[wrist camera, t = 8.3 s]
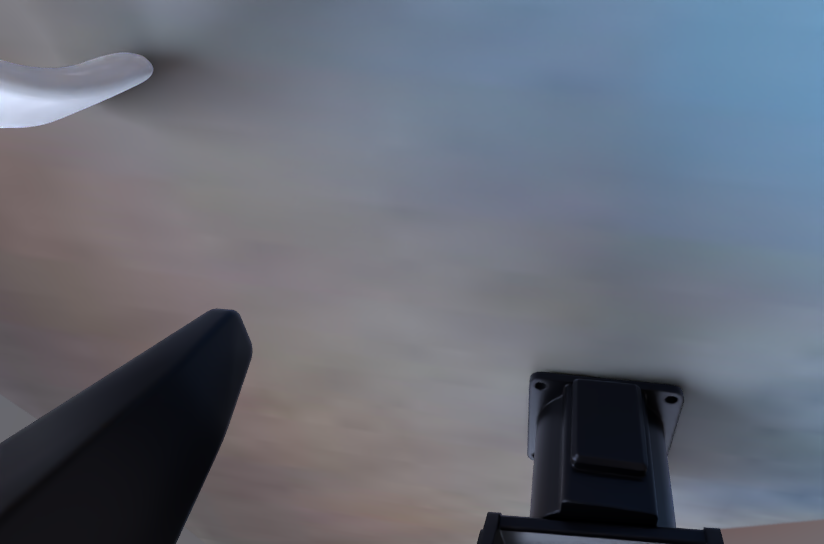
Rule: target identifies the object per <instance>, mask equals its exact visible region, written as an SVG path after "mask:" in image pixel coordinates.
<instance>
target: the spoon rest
mask: <svg viewBox="0 0 824 544" xmlns="http://www.w3.org/2000/svg"><path fill="white" fill-rule="evenodd" d="M153 70H154V69H153V66H152V64H151V62H150V61H148V60H147V59H146V58H145V57H144V56H142V55H138V54H134V53H127V52H121V53H113V54H109V55H106V56H102V57H98V58H95V59H92V60H89V61H86V62H83V63H80V64H76V65H72V66H66V67H60V68H40V67H30V66H25V65H20V64H15V63H11V62H8V61H5V60H2V59H0V128H23V127H34V126H39V125H43V124H47V123H50V122H53V121H56V120H59V119H61V118H64V117H66V116H69V115H71V114H73V113H76V112H78V111H80V110H83V109H85V108H88V107H90V106H92V105H95V104H97V103H100V102H102V101H104V100H106V99H109V98H111V97H113V96H115V95H117V94H120V93H122V92H124V91H126V90H128V89H130V88H132V87H134V86H136V85H138V84H141V83H142V82H144V81H146V80H147V79H148V78H149V77H150V76H151V75H152V73H153Z"/></svg>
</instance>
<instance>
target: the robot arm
mask: <svg viewBox="0 0 824 544" xmlns="http://www.w3.org/2000/svg"><path fill="white" fill-rule="evenodd" d="M251 358H252V344H251V341H250V338H249V336H248V333H247V331H246V328H245V326H244V324H243V321H242V319H241V316H240V315H239V313H237V312H236V311H234V310H228V309H212V310H209V311H208V312H206V313H204V314H203V315H201V316H200V317H198V318H197V319H195V320H193V321H192V322H190V323H189V324H187V325H186V326H184V327H182V328H181V329H179V330H178V331H176V332H175V333H173V334H171V335H170V336H168V337H167V338H165V339H164V340H162V341H160V342H159V343H157V344H156V345H154V346H153V347H151V348H149V349H148V350H146V351H145V352H143V353H142V354H140V355H138V356H137V357H135V358H134V359H132V360H131V361H129V362H127V363H126V364H124V365H123V366H121V367H120V368H118V369H116V370H115V371H113V372H112V373H110V374H109V375H107V376H105V377H104V378H102V379H101V380H99V381H98V382H96V383H94V384H93V385H91V386H90V387H88V388H87V389H85V390H83V391H82V392H80V393H79V394H77V395H76V396H74V397H72V398H71V399H69V400H68V401H66V402H64V403H63V404H61V405H60V406H58V407H57V408H55V409H53V410H52V411H50V412H49V413H47V414H46V415H44V416H42V417H41V418H39V419H38V420H36V421H35V422H33V423H32V424H30V425H28V426H27V427H25V428H24V429H22V430H20V431H19V432H17V433H16V434H14V435H13V436H11V437H9V438H8V439H6V440H5V441H3V442H2V443H1V444H0V544H176V542H177V540H178V538H179V536H180V534H181V531H182V529H183V527H184V525H185V523H186V521H187V518H188V516H189V514H190V512H191V510H192V508H193V505H194V503H195V501H196V499H197V497H198V494H199V492H200V490H201V488H202V486H203V484H204V481H205V479H206V477H207V475H208V473H209V471H210V468H211V466H212V464H213V462H214V460H215V458H216V455H217V453H218V451H219V449H220V446H221V444H222V442H223V439H224V437H225V434H226V431H227V429H228V426H229V423H230V420H231V417H232V414H233V411H234V408H235V405H236V403H237V400H238V397H239V394H240V391H241V388H242V385H243V382H244V379H245V376H246V373H247V370H248V367H249V364H250V361H251ZM539 382H542V383H539ZM683 403H684V396H683V391H682V389H681V388H679V387H678V386H674V385H667V384H657V383H647V382H637V381H627V380H616V379H606V378H596V377H586V376H576V375H566V374H556V373H546V372H536V373H533V374H532V375H531V377H530V386H529V418H528V451H527V455H528V457H529V458H530V459H532V460H534V467H533V481H532V494H531V508H530V517H519V516H506V515H502V514H501V513H496V512H488V513H487V517H486V521H485V524H484V528H483V530H482V529H481V531H480V534H479V538H478V542H477V544H724V542H723V538H722V534H721V531H720V529H719V528H705V527H704V530H697V529H683V528H676V522H675V514H674V506H673V498H672V490H671V482H670V475H669V467H668V459H667V456H668V453H669V450H670V446H671V443H672V440H673V436H674V433H675V429H676V426H677V423H678V419H679V416H680V413H681V409H682V406H683Z"/></svg>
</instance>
